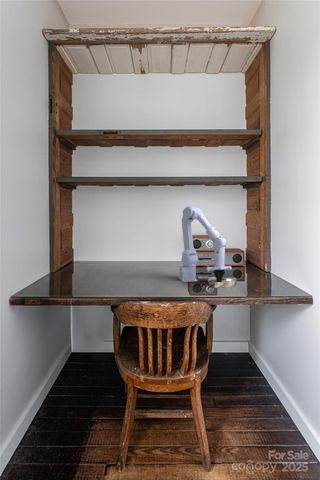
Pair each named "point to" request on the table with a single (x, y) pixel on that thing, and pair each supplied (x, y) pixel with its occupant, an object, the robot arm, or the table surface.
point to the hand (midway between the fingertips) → (218, 283)
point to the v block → (211, 278)
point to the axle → (229, 280)
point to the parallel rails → (221, 283)
